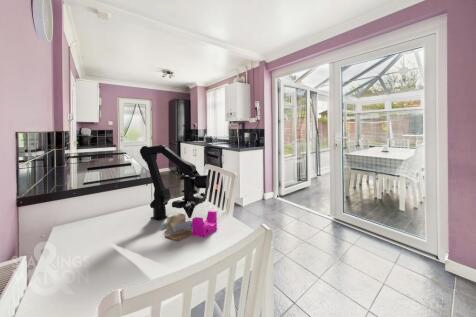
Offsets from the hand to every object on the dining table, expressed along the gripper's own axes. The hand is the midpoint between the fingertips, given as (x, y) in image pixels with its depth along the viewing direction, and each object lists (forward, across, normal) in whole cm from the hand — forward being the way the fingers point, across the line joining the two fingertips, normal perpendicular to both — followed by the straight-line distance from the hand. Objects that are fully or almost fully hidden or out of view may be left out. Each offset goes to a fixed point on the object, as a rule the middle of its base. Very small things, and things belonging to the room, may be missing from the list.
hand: (189, 217), depth 110 cm
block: (+3, -9, 0) cm, 9 cm away
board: (+2, -15, -10) cm, 18 cm away
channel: (+2, -9, 0) cm, 9 cm away
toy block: (+3, -4, -16) cm, 16 cm away
